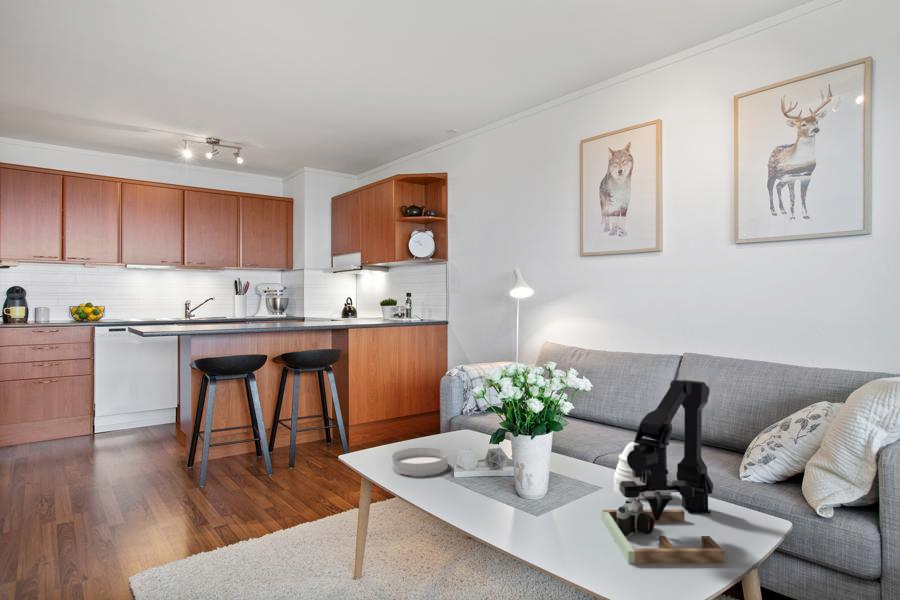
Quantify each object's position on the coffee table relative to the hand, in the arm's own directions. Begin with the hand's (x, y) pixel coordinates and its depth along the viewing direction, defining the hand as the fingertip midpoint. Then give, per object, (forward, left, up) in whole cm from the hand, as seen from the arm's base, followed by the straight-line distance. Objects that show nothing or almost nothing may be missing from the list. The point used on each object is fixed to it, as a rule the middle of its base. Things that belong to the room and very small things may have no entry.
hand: (656, 519), depth 150 cm
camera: (+5, -2, -4) cm, 7 cm away
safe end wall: (+12, +4, -4) cm, 13 cm away
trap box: (+1, +4, -4) cm, 5 cm away
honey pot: (-4, -33, -4) cm, 33 cm away
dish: (+71, -61, -4) cm, 94 cm away
